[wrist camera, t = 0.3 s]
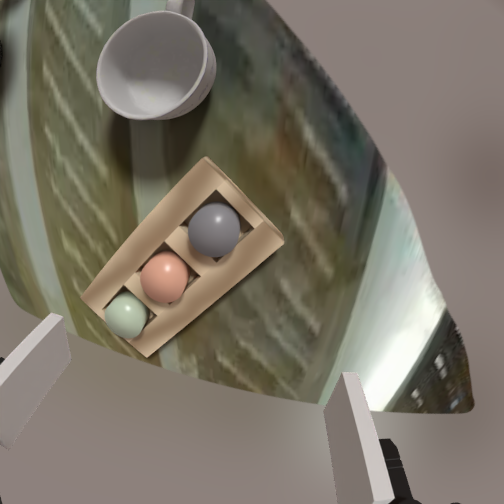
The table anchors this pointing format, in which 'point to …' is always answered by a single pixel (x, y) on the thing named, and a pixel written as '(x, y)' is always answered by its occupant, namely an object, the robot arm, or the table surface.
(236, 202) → the button panel
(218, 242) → the charcoal button
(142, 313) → the sage button
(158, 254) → the terracotta button
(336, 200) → the table surface
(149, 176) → the table surface
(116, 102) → the teacup
